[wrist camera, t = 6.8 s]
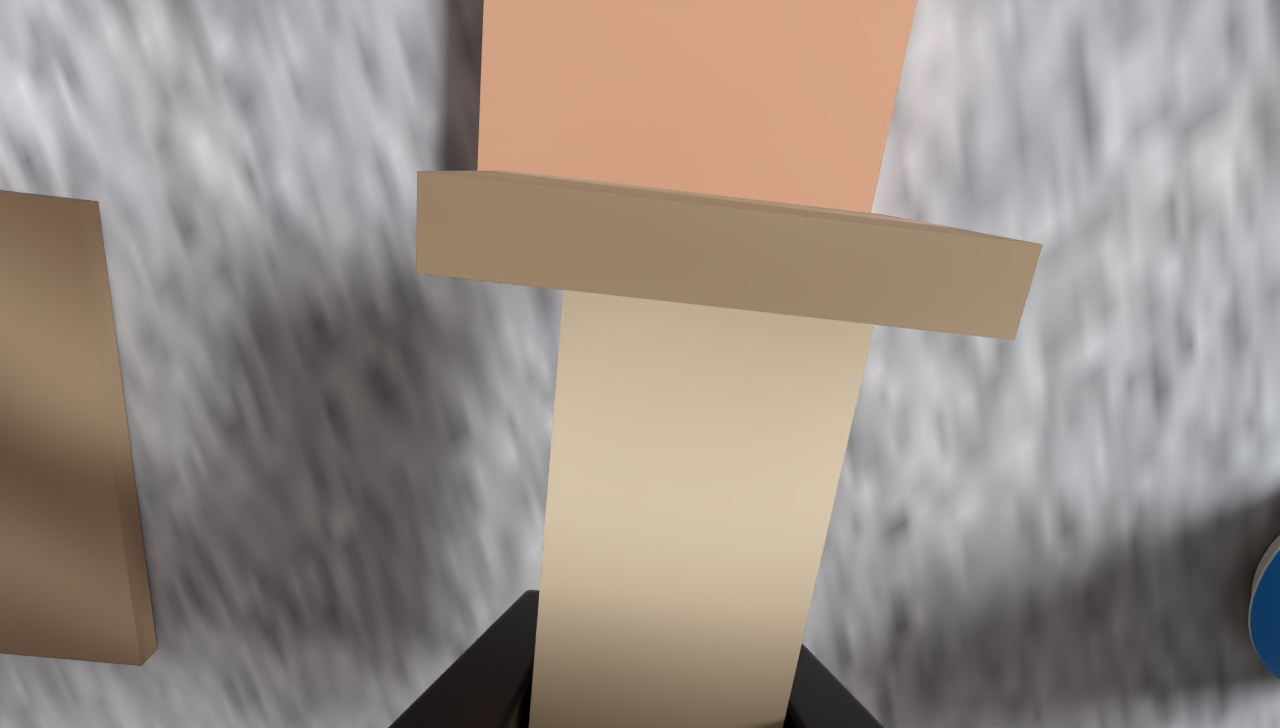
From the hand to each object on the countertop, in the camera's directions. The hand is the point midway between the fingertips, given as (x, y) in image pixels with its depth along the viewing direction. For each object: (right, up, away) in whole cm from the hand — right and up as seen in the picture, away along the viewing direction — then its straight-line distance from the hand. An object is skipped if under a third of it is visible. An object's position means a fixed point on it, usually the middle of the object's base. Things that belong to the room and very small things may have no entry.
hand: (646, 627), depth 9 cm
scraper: (0, 0, +1) cm, 1 cm away
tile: (+1, +7, +5) cm, 8 cm away
